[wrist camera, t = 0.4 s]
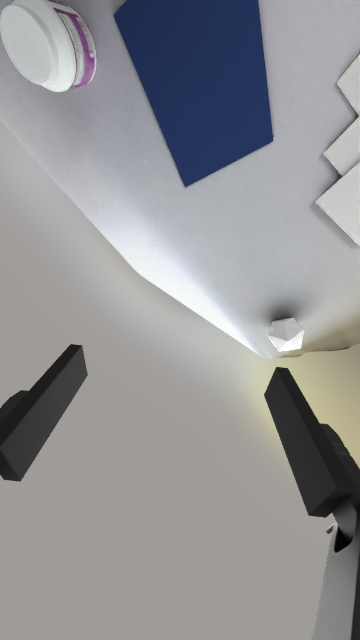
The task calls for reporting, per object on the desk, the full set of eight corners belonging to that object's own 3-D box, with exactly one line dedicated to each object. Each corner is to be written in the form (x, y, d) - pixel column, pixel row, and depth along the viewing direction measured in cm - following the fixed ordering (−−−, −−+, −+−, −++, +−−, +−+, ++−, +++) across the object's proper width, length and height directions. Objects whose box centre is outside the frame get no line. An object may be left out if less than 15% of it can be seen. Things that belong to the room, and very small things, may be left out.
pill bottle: (49, 67, 24) (-3, 72, 18) (45, -12, 20) (-24, -38, 14) (96, 96, 25) (62, 109, 19) (101, 28, 21) (59, 19, 15)
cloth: (114, 15, 21) (113, 15, 20) (243, -127, 15) (244, -128, 15) (185, 186, 32) (185, 187, 32) (272, 140, 27) (273, 141, 27)
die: (266, 331, 63) (292, 356, 58) (255, 331, 56) (283, 360, 51) (287, 311, 59) (317, 336, 54) (278, 309, 52) (311, 337, 47)
